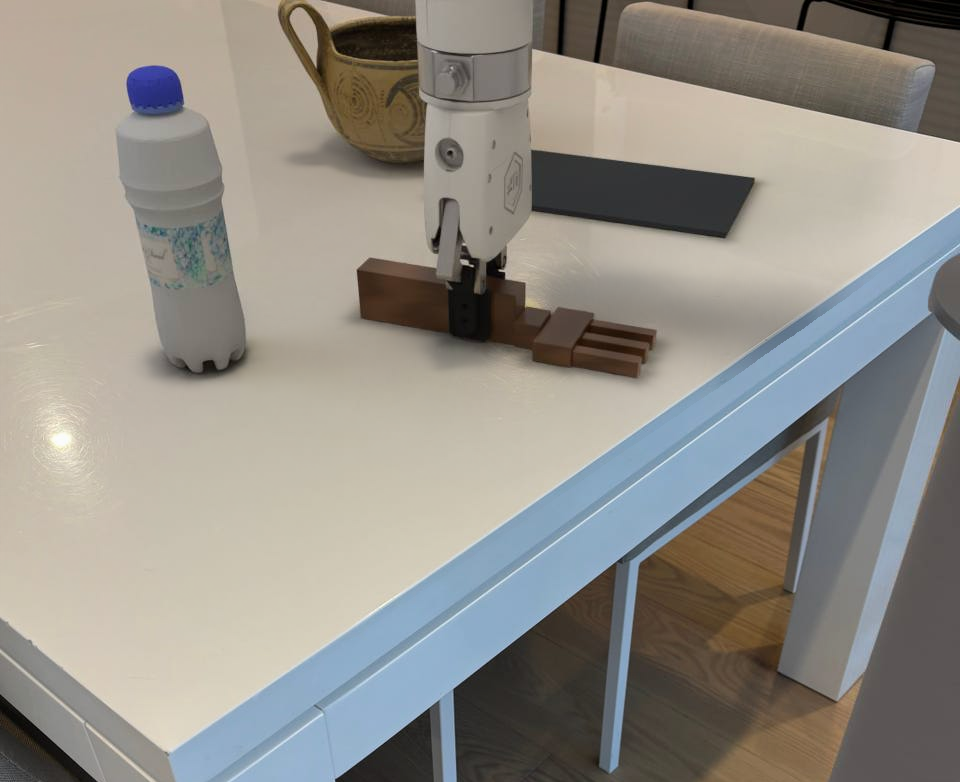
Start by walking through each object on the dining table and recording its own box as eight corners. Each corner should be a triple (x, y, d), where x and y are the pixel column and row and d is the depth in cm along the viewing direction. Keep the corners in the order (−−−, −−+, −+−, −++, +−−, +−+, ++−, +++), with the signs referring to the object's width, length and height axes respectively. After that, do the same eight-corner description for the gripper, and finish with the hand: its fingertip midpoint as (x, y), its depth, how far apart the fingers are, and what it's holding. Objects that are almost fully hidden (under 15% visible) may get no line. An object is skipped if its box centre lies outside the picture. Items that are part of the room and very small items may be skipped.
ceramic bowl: (315, 195, 104) (296, 21, 94) (281, 138, 116) (261, -22, 106) (531, 166, 109) (535, -2, 99) (477, 115, 121) (476, -40, 111)
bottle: (147, 354, 81) (78, 64, 68) (226, 328, 84) (176, 45, 71) (187, 390, 77) (122, 90, 64) (269, 361, 80) (224, 69, 67)
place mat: (754, 182, 106) (755, 177, 105) (725, 237, 96) (726, 232, 96) (487, 148, 113) (487, 143, 113) (436, 196, 104) (436, 191, 103)
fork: (350, 328, 84) (345, 279, 81) (382, 295, 88) (379, 247, 86) (635, 379, 78) (641, 328, 75) (656, 342, 82) (662, 292, 79)
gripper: (484, 113, 65) (485, 386, 77) (566, 42, 75) (555, 292, 88) (371, 100, 67) (390, 368, 79) (466, 33, 77) (470, 278, 90)
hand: (477, 326), depth 83 cm, fingers closed on fork, 2 cm apart
